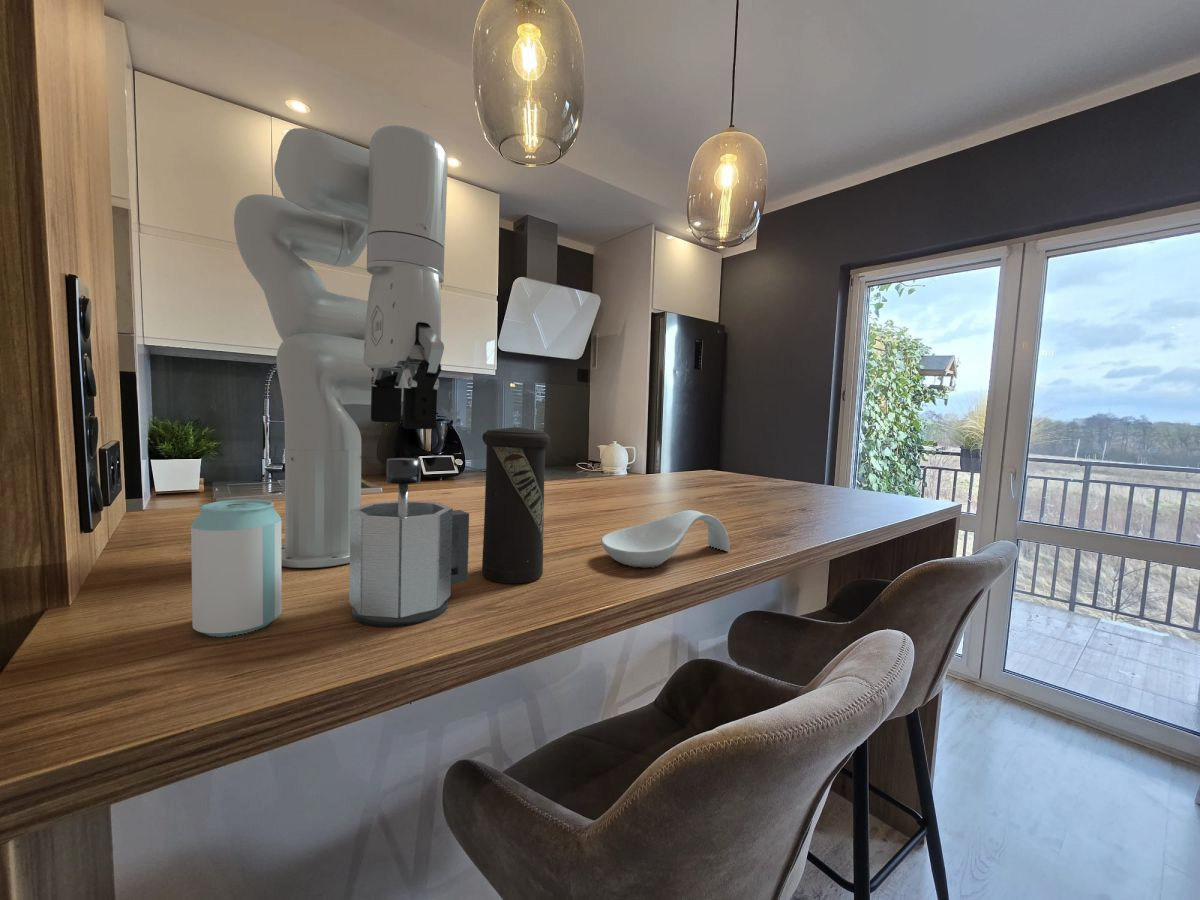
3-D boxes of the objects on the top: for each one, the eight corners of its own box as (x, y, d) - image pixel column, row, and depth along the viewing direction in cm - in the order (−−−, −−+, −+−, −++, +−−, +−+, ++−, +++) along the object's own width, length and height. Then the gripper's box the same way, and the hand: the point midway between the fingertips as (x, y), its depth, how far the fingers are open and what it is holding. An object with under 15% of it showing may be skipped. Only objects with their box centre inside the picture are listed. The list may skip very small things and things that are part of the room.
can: (172, 634, 46) (170, 507, 45) (243, 606, 53) (242, 495, 52) (233, 645, 44) (232, 513, 44) (298, 615, 51) (298, 501, 50)
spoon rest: (632, 580, 67) (634, 529, 67) (585, 558, 77) (587, 512, 77) (745, 558, 81) (748, 515, 80) (694, 541, 90) (696, 503, 90)
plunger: (359, 576, 54) (360, 457, 53) (420, 566, 59) (422, 456, 58) (380, 595, 49) (381, 463, 48) (445, 582, 54) (447, 461, 53)
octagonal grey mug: (340, 603, 55) (341, 505, 54) (444, 582, 63) (446, 497, 62) (368, 635, 47) (369, 522, 47) (482, 607, 55) (485, 510, 55)
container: (511, 590, 61) (516, 429, 60) (465, 573, 66) (469, 425, 65) (558, 574, 68) (563, 429, 66) (513, 560, 73) (517, 426, 72)
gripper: (344, 267, 56) (341, 418, 57) (400, 235, 43) (394, 431, 44) (410, 281, 61) (406, 420, 62) (478, 256, 48) (471, 432, 49)
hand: (401, 424), depth 53 cm, fingers open, 9 cm apart
